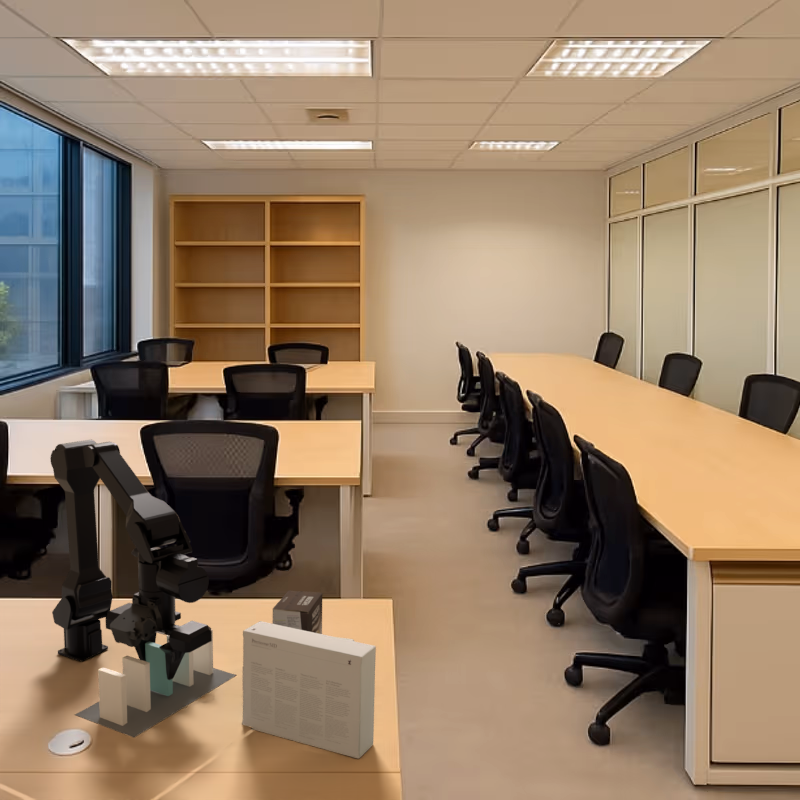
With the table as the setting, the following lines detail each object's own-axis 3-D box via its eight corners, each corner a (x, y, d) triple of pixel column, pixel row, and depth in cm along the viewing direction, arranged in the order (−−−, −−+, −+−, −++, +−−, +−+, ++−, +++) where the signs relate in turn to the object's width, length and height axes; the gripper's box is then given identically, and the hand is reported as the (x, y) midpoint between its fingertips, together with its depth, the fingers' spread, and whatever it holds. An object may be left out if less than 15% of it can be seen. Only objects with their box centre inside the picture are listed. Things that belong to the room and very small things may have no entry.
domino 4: (187, 668, 158) (186, 625, 157) (191, 666, 159) (190, 623, 157) (209, 675, 155) (208, 631, 154) (213, 672, 156) (212, 629, 155)
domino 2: (123, 703, 145) (122, 657, 144) (128, 701, 146) (126, 655, 145) (146, 712, 143) (144, 665, 141) (150, 709, 143) (149, 662, 142)
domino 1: (99, 717, 141) (98, 669, 139) (104, 714, 142) (103, 667, 140) (122, 725, 138) (121, 677, 137) (127, 723, 139) (125, 675, 138)
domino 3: (167, 679, 154) (166, 635, 152) (171, 677, 154) (170, 633, 153) (189, 686, 151) (188, 642, 150) (193, 684, 152) (192, 640, 151)
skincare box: (376, 743, 136) (377, 644, 133) (359, 760, 131) (361, 659, 128) (260, 711, 144) (259, 618, 142) (240, 726, 140) (239, 631, 137)
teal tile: (146, 688, 149) (145, 643, 148) (150, 686, 150) (149, 641, 149) (168, 696, 147) (167, 650, 146) (172, 693, 148) (171, 648, 146)
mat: (74, 716, 141) (74, 714, 141) (180, 659, 162) (180, 657, 162) (134, 739, 135) (134, 737, 135) (236, 677, 156) (236, 675, 156)
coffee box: (308, 704, 147) (308, 612, 144) (270, 700, 148) (270, 608, 145) (323, 679, 156) (324, 591, 153) (288, 675, 157) (288, 588, 154)
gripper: (77, 589, 143) (81, 680, 146) (163, 614, 134) (165, 710, 137) (129, 569, 153) (132, 655, 155) (213, 591, 144) (214, 681, 146)
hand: (159, 675), depth 148 cm, fingers closed on teal tile, 5 cm apart
